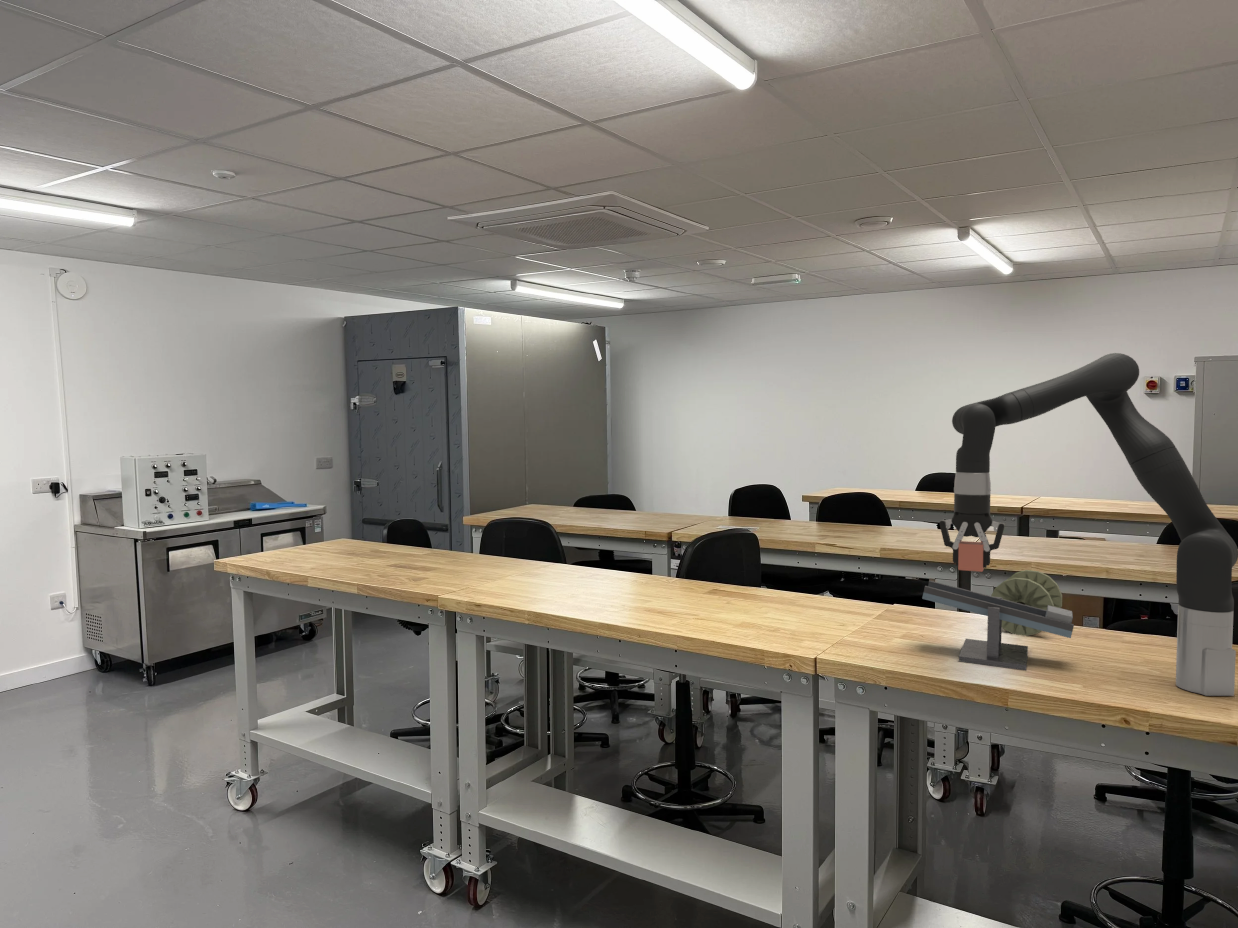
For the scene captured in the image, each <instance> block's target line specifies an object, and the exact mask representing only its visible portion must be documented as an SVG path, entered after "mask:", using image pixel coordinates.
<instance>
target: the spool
mask: <svg viewBox="0 0 1238 928" xmlns="http://www.w3.org/2000/svg"><path fill="white" fill-rule="evenodd" d="M990 596H993V597H1002V599H1004V600H1008V601H1012V602H1016V603H1020V604H1024V605H1028V606H1032V607H1035V608H1039V609H1043V610H1047V607H1048V605H1049V606H1053V607H1057V608H1061V609H1062V607H1063V594H1062V592H1061V589H1060V586H1059V585H1058V583H1057V582H1056V581H1055V580H1054V579H1053V578H1052V577H1051V576H1050V575H1047V574H1046V573H1043V572H1041V571H1039V570H1031V569H1030V570H1029V569H1025V570H1021V571H1018V572H1017V571H1016V572H1015V573H1014V574H1012V575H1011V576H1010V577H1008V578H1007V579H1006V580H1004V581H1002V582H1001V583H1000V584H998V585H997V586H996V587H994V589H993V591H992V593H991V595H990ZM1002 630H1005V631H1006V632H1009V634H1010V633H1011V634H1013V635H1016V636H1023V637H1025V636H1026V637H1027V636H1033V635H1036V634H1039V633H1041V632H1042V631H1041V630H1037V629H1034V628H1030V627H1026V626H1023V625H1019V624H1015V623H1011V622H1008V621H1004V620H1002Z"/></svg>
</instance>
